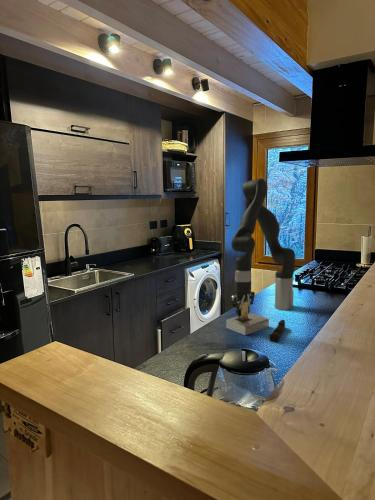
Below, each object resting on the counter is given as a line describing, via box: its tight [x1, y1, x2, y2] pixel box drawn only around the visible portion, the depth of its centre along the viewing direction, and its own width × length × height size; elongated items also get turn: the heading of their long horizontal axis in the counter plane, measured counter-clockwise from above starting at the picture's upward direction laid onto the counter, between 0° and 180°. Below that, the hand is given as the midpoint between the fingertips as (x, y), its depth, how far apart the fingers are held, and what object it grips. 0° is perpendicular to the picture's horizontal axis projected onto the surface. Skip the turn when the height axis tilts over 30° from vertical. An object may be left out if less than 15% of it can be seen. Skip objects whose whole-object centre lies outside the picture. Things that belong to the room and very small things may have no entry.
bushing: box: [238, 301, 248, 322], centre depth 162 cm, size 5×5×9 cm
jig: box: [225, 312, 270, 336], centre depth 164 cm, size 16×12×4 cm
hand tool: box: [268, 319, 286, 343], centre depth 154 cm, size 19×4×5 cm, turn 150°
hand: (242, 314), depth 163 cm, fingers closed on bushing, 4 cm apart
